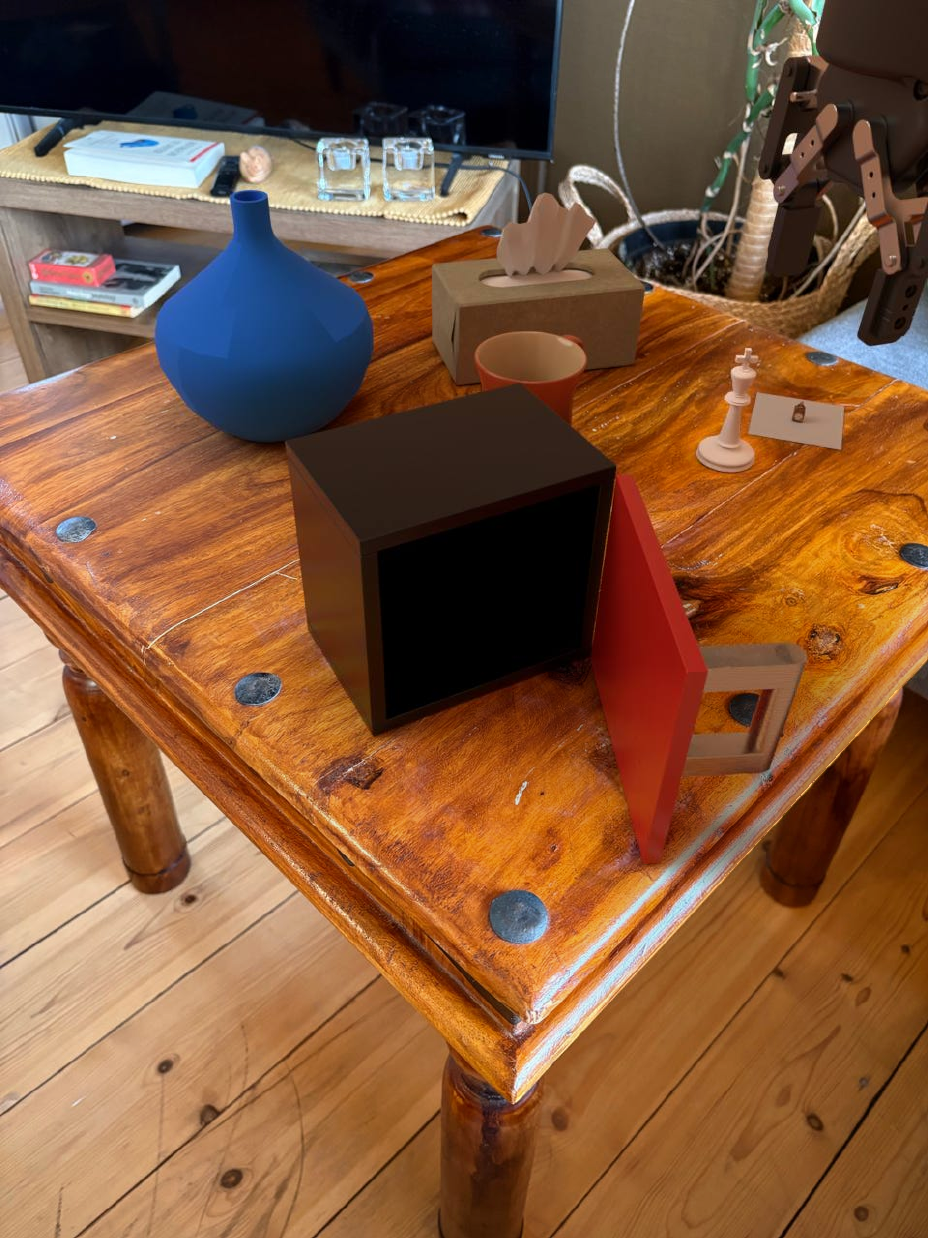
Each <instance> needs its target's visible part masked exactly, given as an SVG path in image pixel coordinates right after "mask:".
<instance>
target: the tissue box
mask: <svg viewBox="0 0 928 1238" xmlns="http://www.w3.org/2000/svg"><path fill="white" fill-rule="evenodd" d="M597 221H598V220H597V219H596V218H595V217H592V216H591V215H589V214H588V213H587V212H586V210H585V208H583V206H582V205H581V204H580V203H578V202H574V203H573V204H572V206H571V207H569V209H568V208H565V207H563V206H562V205H560V204H559V203H558V201H557V199H556V198H555V197H554V195H553V194H552V193H548V192H543V193H541V194H539V195H537V197H536V199H535V201H534V203H533V205H532V207H531V210H530V213H529V216H528V218H527V221H526V222H522V223H517V222H514V221H509V222H508V223H507V224H506V225H505V226H504V227H503V228H502V230H501V234H500V237H499V240H498V245H497V247H496V257H495V258H494V257H493V258H483V259H473V260H461V261H452V262H440V263H434V264H433V265H431V310H432V312H431V314H432V316H431V317H432V318H431V319H432V320H431V321H432V322H431V323H432V325H431V326H432V332H431V333H432V343H433V344H434V346H435V347H436V349H437V351H438V354H439V355H440V357H441V358H442V361H443V362H444V364H445V367H446V369H447V370H448V371H449V374H450V375H451V377H452V379H453V381H454V383H455V384H456V385H457V386H464V385H474V384H481V380H480V376H479V373H478V370H477V366H476V363H475V358H474V355H475V351H476V349H477V347H478V346H479V345H480V344H481V343H482V342H484V341H485V340H487V339H489V338H491V337H494V336H497V335H500V334H504V333H510V332H519V331H537V332H545V333H550V334H554V335H558V336H562V335H566V334H568V335H573V336H576V337H578V338H580V339H581V340H582V342H583V347H584V352H585V354H586V356H587V365H586V368H585V370H584V371H592V370H600V369H608V368H617V367H625V366H626V367H627V366H633V365H634V364H635V363H636V359H637V358H636V357H637V350H638V345H639V335H640V328H641V322H642V314H643V307H644V300H645V293H646V286H645V285H644V284H643V283H642V282H641V281H640V280H639V279H638V278H637V277H636V276H635V275H634V273H632V272H631V271H630V270H629V269H628V267H626V266H625V265H624V263H622V262H621V261H620V259H618V258H617V257H616V256H615V254H614V253H612V251H611V250H610V249H608V248H607V247H605V248H593V249H583V250H579V249H580V247H581V245H582V244H583V242H584V240H585V239H586V238H587V236H588V235H589V233H590V232H591V230H593V228H594V226H595V224H596V223H597Z"/></svg>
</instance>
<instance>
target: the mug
mask: <svg viewBox="0 0 928 1238" xmlns="http://www.w3.org/2000/svg"><path fill="white" fill-rule="evenodd" d="M474 358H475V363H476V366H477V370H478V373H479V376H480V380H481V383H480V384H481V392H483V391H487V390H491V389H495V388H499V387H503V386H507V385H511V384H515V383H521V384H523V385H524V386H525V387H526V388H527V389H528V390H530V391H531V392H532V393H533V394H534V395H535V396H537V397H538V398H539V399H540V400H541V401H542V402H543V403H545V404H546V405H547V406H548V407H549V408H550V409H552V410H553V411H554V412H555V413H556V414H557V415H559V416H560V417H561V418H562V419H563V420H564V421H566V422H567V423H568V424H569V425H570V426H571V427H573V409H574V400H575V399H574V398H575V395H576V391H577V388H578V386H579V383H580V381H581V379H582V377H583V374H584V373H585V371H586V370H585V368H586V365H587V356H586V354H585V352H584V347H583V342H582V340H581V339H580V338H578V337H576V336H573V335H568V334H566V335H562V336H558V335H554V334H550V333H545V332H537V331H519V332H510V333H504V334H500V335H497V336H494V337H491V338H489V339H487V340H485V341H484V342H482V343H481V344H480V345H479V346H478V347H477V349H476V351H475V355H474Z"/></svg>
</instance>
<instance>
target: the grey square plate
mask: <svg viewBox="0 0 928 1238" xmlns="http://www.w3.org/2000/svg"><path fill="white" fill-rule="evenodd" d="M844 413H845V406H844V405H837V404H833V403H826V402H820V401H813V400H807V399H801V398H795V397H789V396H783V395H775V394H769V393H764V392H758V391H756V395H755V399H754V405H753V410H752V414H751V419H750V423H749V427H748V428H749V429H748V433H747V435H752V436H758V437H764V438H770V439H775V440H781V441H788V442H793V443H798V444H804V445H811V446H816V447H823V448H827V449H828V448H829V449H833V450H840V451H842V444H843V443H842V442H843V431H844V430H843V428H844Z"/></svg>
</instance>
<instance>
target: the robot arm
mask: <svg viewBox="0 0 928 1238" xmlns="http://www.w3.org/2000/svg"><path fill="white" fill-rule="evenodd" d="M814 43H815V44H814V45H815V50H816V52H817V54H810V55H802V56H789V57H788V58H786V60H785V61H784V63H783V66H782V70H781V74H780V78H779V81H778V85H777V90H776V92H775V93H776V94H775V97H774V100H773V101H774V102H773V106H772V109H771V113H770V118H769V120H768V124H767V130H766V133H765V137H764V141H763V144H762V149H761V154H760V157H759V161H758V164H757V165H758V166H757V172H758V173H757V174H758V176H759V178H760V179H761V180H762V181H765V180H766V181H769V180H770V182H771V183H772V185H773V189H772V194H773V199H774V201H775V202H776V203H777V208H776V211H775V216H774V220H773V225H772V229H771V230H772V231H771V232H770V238H769V242H768V247H767V258H766V261H765V266H764V267H765V271H766V272H767V273H769V274H770V275H771V276H772V277H774V278H776V279H777V278H785V277H786V278H787V277H794V276H800V275H801V274H802V273H804V271H805V270H806V268H807V265H808V261H809V259H810V254H811V250H812V247H813V243H814V239H815V235H816V231H817V228H818V224H819V221H820V216H821V212H822V210H823V207H822V205H820V204H819V203H817V202H816V200H820V199H822V198H823V197H824V196H825V195H826V194H827V193H828V191H830V189H831V188H832V187H833V186H834V185H835V184H845V185H847V187H848V188H849V189H850V190H851V191H852V193H853V194H854V195H856V196H858V197H859V198H861V199H863V200H864V204H865V211H866V219H867V221H868V223H869V224H870V225H871V226H872V227H874V228H875V229H876V231H877V235H878V243H879V244H878V245H879V252H880V258H881V261H880V262H881V266H882V267H881V268H877V269H876V272H875V274H874V275H875V276H874V279H873V282H872V285H871V288H870V292H869V295H868V298H867V301H866V303H865V304H866V305H865V306H864V307H865V308H864V310H863V314H862V317H861V320H860V323H859V326H858V329H857V333H856V336H857V339H858V340H859V341H861V342H862V343H863V344H864V345H866V346H867V347H876V346H882V345H889V344H890V345H891V344H894V343H896V342H898V341H899V340H900V339H901V338H902V337H905V336H906V334H907V333H908V331H909V330H910V328H911V326H912V323H913V321H914V317H915V315H916V312H917V308H918V306H919V304H920V300H921V298H922V296H923V292H924V289H925V286H926V283H927V281H928V0H824V3H823V7H822V11H821V16H820V20H819V24H818V29H817V32H816V37H815V42H814ZM792 134H793V135H795V134H796V136H795V140H794V144H793V148H792V151H791V153H784V149H785V145H786V142H787V138H788V137H790V136H791V135H792ZM914 185H915V191H916V192H915V193H916V197H915V198H914V197H913V198H906V199H899V198H897V196H900V195H902V194H904V193H906V192H908V191H909V190H910V189H911V188H912V187H913V186H914ZM905 223H909V224H910V225H911V227H912V235H913V241H914V244H907V235H906V227H905Z"/></svg>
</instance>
